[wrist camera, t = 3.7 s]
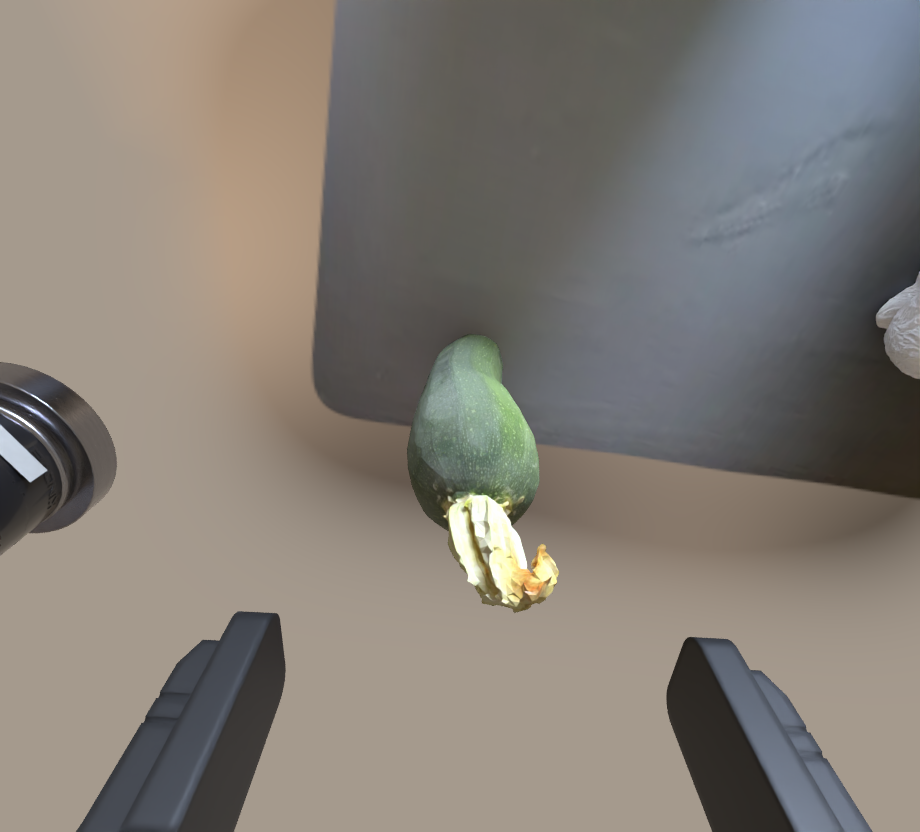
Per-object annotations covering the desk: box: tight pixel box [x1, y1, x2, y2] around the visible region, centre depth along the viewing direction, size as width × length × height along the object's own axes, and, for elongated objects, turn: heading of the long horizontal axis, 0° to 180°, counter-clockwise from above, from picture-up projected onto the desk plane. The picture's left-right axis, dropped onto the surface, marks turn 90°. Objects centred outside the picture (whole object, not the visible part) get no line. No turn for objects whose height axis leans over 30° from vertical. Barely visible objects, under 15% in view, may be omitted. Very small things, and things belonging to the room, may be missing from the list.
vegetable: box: [407, 334, 559, 613], centre depth 20 cm, size 4×4×20 cm
